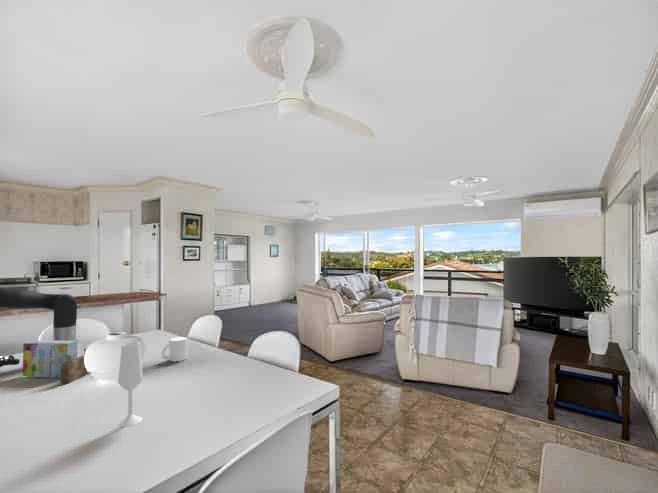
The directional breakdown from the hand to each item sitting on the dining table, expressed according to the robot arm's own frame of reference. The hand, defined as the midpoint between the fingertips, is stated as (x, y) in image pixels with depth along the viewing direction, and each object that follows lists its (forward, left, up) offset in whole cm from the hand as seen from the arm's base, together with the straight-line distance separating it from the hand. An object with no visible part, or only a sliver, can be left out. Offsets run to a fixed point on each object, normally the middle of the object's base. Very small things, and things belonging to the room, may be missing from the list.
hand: (17, 361), depth 149 cm
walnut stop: (+1, +28, -7) cm, 29 cm away
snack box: (-1, +13, -7) cm, 15 cm away
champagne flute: (+41, +75, -7) cm, 86 cm away
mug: (-23, +58, -7) cm, 63 cm away
